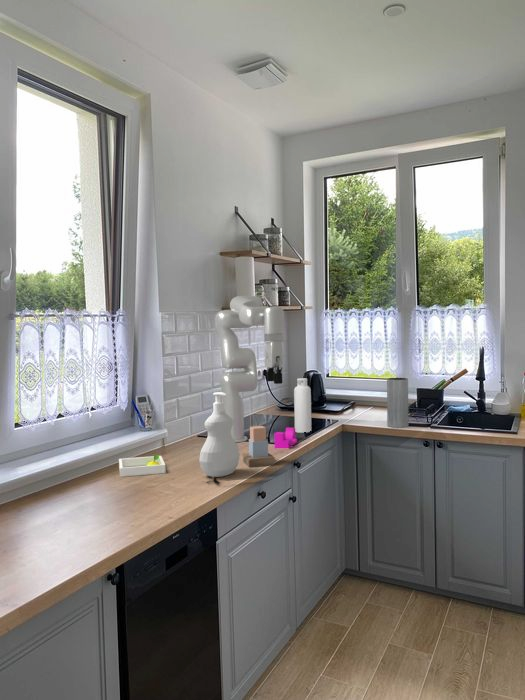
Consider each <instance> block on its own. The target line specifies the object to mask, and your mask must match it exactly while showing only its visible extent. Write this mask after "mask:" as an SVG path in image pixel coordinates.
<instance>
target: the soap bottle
mask: <svg viewBox="0 0 525 700" xmlns="http://www.w3.org/2000/svg"><path fill="white" fill-rule="evenodd" d="M212 395H213V396H214V397H215V398H214V399H215V402H213V406H212V407H213V411H212V414H211V415H210V416H208V418H207V419H206V420H205V421H204V428H205V429H206V431H207V437H206V439H205V442H204V443H203V446H202V448H201V450H200V453H199V459H198V460H199V466H200V470H202V471H203V473H204V474H205V475H206V476H207V477H213V478H223V477H226V476H229V475H231V474H233V473H235V471H236V469H237V467H238V465H239V461H240V455H241V454H240V450H239V446H238V444H237V442H235V441H234V439H233V438H232V435H231V428H232V426H233V419H232V418H231V417H230V416H229V415H227V414H226V413H225V411H224V402H223V398H222V396H227V395H226V394H225V393H223V392H222V391H220V392H219V391H217V392H213V394H212Z"/></svg>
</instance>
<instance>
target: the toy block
mask: <svg viewBox="0 0 525 700" xmlns="http://www.w3.org/2000/svg"><path fill="white" fill-rule="evenodd" d="M295 443H296V444H297V443H298V438H296V432H295V427H289V426H287V427H286V428H285V432H282V431H281V432H280V431H276V432H274V449H277V448H289V449H291V448H292V447H293V446H292V445H294V444H295ZM296 444H295V445H296ZM295 445H294V446H295ZM291 446H292V447H291ZM290 447H291V448H290Z"/></svg>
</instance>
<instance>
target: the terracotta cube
mask: <svg viewBox="0 0 525 700" xmlns="http://www.w3.org/2000/svg"><path fill="white" fill-rule="evenodd" d="M249 439H250V440H252V441H253V442H257V441H266V440H267V428H266V427H265V426H263V425H255V426H249Z"/></svg>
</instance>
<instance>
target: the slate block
mask: <svg viewBox="0 0 525 700" xmlns="http://www.w3.org/2000/svg"><path fill="white" fill-rule="evenodd" d="M248 453H249V455H250V456H252V457H253V458H256V457H268V453H269V441H268V440H267V439H266V441H257V442H253V441H252V440H250V438H249V439H248Z"/></svg>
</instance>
